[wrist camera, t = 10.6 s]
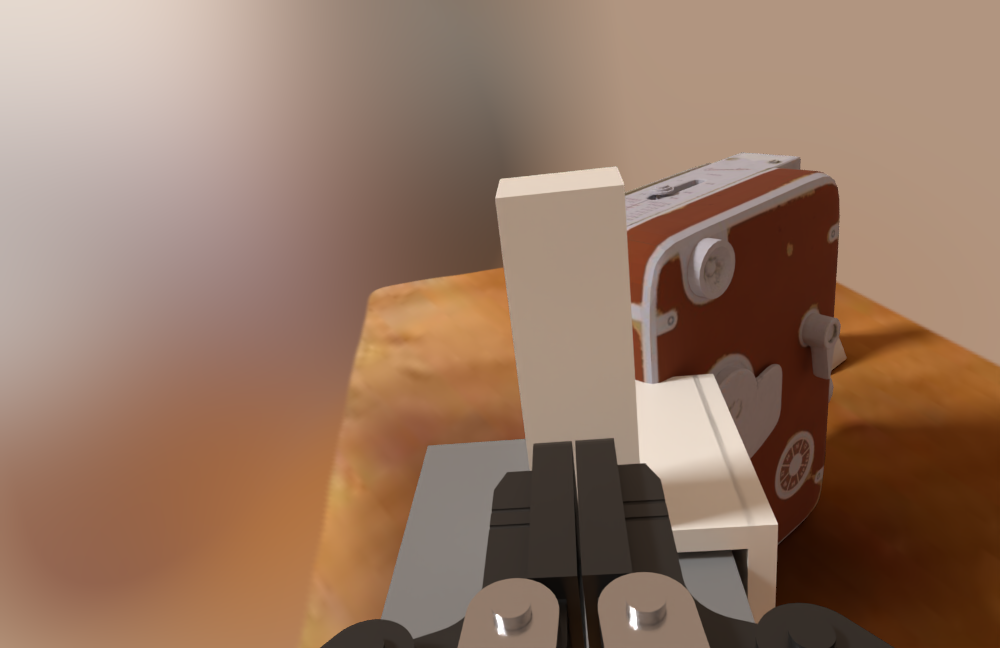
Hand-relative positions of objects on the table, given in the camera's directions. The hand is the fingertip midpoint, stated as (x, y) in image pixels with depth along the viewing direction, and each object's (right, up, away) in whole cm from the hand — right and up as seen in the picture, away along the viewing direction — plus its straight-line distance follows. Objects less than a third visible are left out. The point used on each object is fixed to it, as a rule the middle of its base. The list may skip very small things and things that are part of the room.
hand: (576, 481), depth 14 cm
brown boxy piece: (+11, -9, +28) cm, 31 cm away
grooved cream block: (+5, -13, +16) cm, 22 cm away
